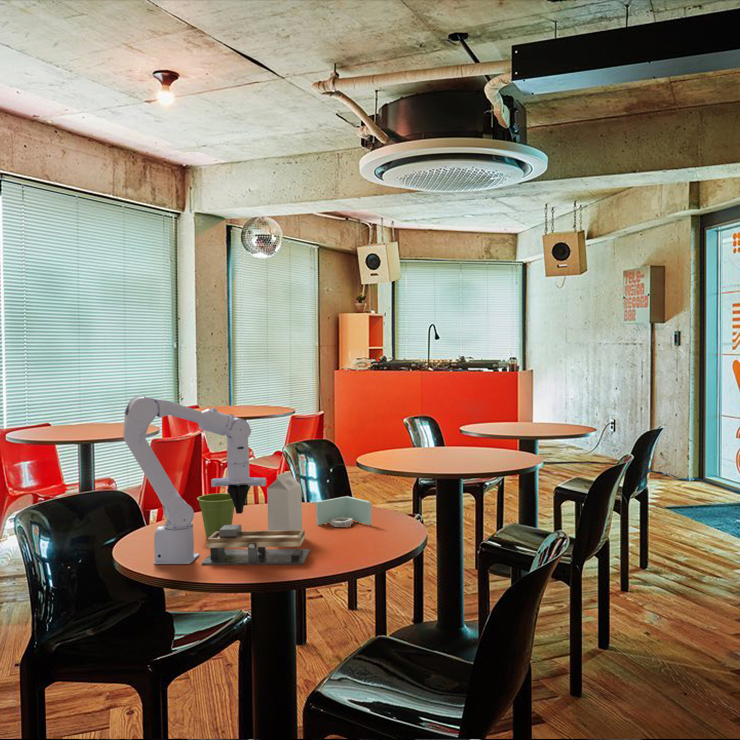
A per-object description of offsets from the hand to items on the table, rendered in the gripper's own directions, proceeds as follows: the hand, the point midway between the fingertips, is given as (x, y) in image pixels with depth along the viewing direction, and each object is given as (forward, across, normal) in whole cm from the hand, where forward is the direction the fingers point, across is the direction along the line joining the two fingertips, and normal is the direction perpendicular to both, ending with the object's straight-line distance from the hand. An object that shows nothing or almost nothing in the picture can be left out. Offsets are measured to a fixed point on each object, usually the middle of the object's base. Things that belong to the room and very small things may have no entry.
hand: (239, 512), depth 184 cm
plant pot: (+11, -11, +17) cm, 23 cm away
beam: (+6, +6, -6) cm, 10 cm away
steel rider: (+5, -1, -6) cm, 8 cm away
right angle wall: (+11, +25, +27) cm, 39 cm away
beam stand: (+10, +6, -6) cm, 13 cm away
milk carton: (+11, +10, +12) cm, 19 cm away
